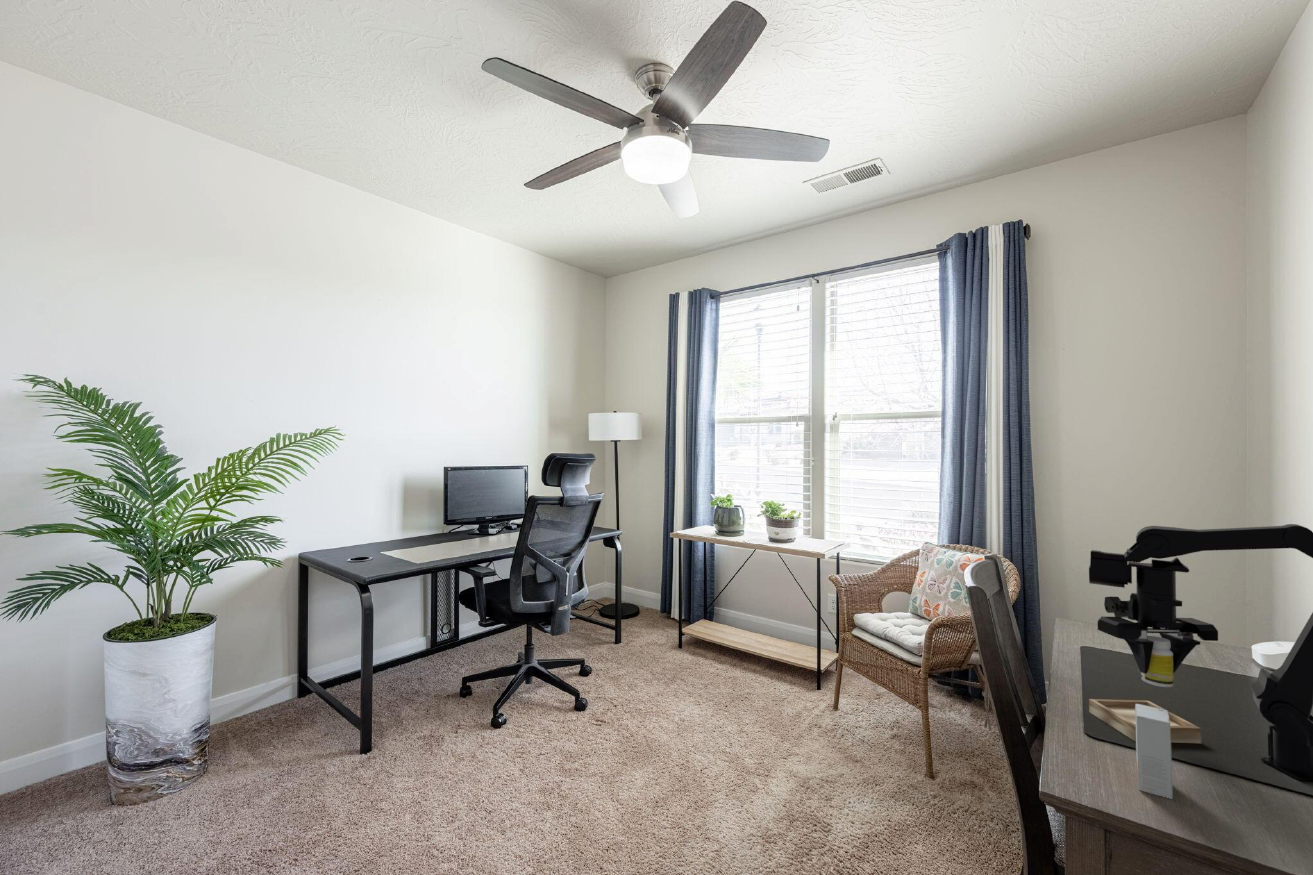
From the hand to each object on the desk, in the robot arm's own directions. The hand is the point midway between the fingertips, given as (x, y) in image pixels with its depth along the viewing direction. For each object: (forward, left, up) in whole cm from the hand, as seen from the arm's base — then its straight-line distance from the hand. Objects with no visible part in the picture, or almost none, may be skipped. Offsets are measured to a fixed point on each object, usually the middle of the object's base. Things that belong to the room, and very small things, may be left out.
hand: (1156, 672), depth 108 cm
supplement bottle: (0, 0, -2) cm, 2 cm away
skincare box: (-17, +15, -12) cm, 26 cm away
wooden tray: (+4, 0, -13) cm, 13 cm away
